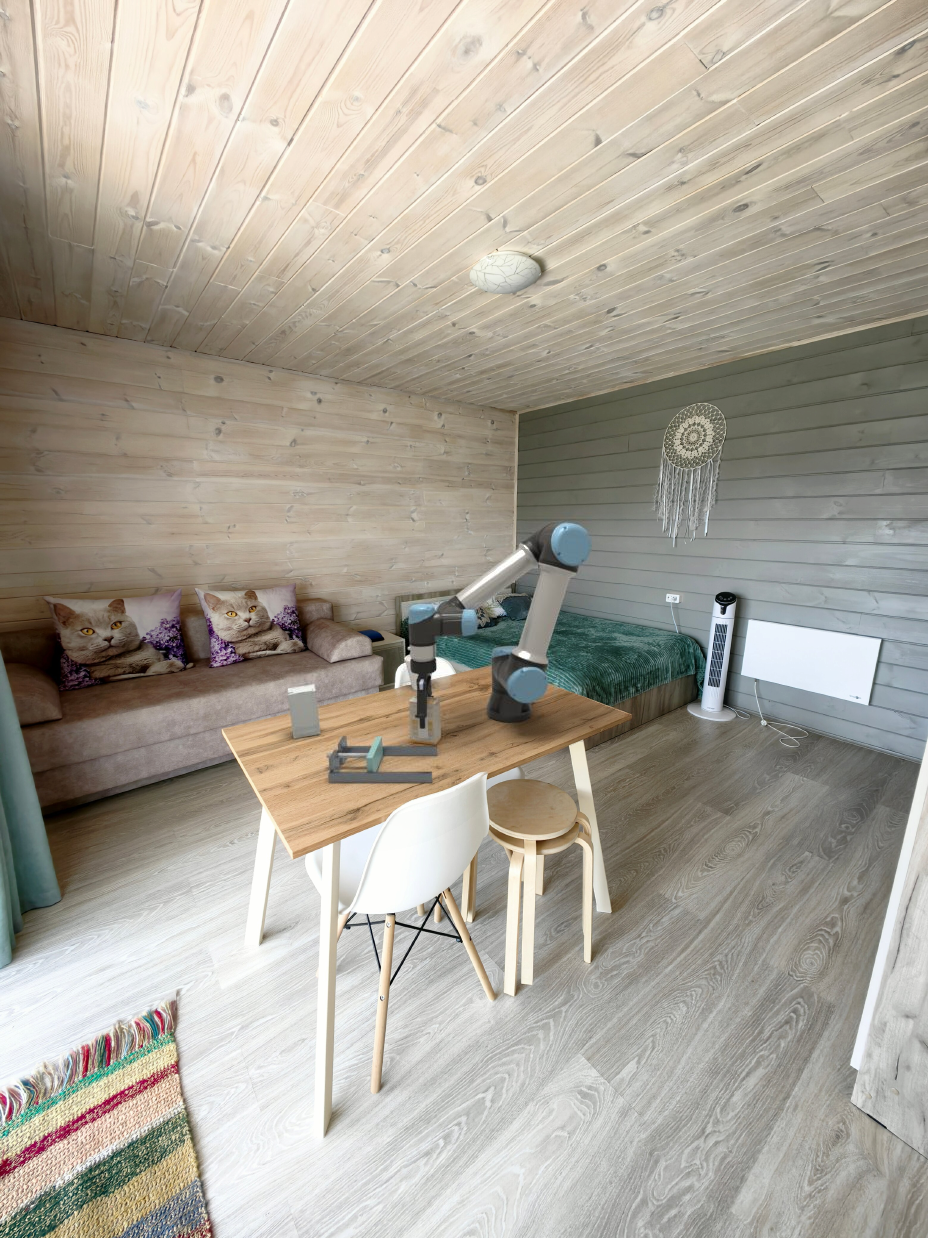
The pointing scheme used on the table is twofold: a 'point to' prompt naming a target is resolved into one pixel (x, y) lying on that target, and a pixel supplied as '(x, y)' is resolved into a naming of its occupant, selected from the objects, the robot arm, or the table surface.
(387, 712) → the table surface
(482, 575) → the robot arm
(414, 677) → the cup
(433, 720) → the supplement box
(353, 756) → the pusher
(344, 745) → the lane
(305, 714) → the skincare box
